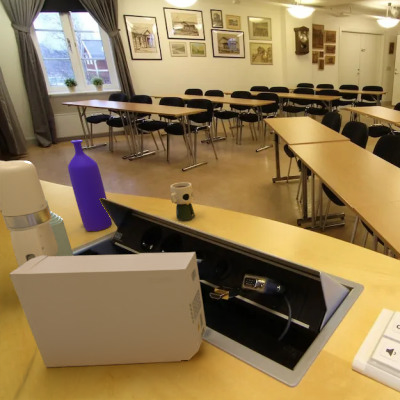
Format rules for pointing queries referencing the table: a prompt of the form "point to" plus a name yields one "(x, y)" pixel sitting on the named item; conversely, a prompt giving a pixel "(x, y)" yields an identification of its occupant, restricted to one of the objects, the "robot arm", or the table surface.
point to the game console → (112, 307)
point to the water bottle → (60, 235)
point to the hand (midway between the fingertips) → (51, 286)
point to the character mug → (183, 200)
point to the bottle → (88, 190)
